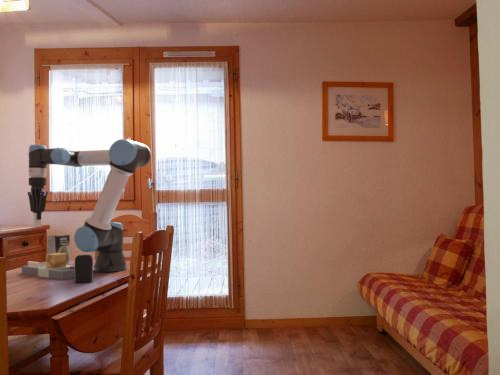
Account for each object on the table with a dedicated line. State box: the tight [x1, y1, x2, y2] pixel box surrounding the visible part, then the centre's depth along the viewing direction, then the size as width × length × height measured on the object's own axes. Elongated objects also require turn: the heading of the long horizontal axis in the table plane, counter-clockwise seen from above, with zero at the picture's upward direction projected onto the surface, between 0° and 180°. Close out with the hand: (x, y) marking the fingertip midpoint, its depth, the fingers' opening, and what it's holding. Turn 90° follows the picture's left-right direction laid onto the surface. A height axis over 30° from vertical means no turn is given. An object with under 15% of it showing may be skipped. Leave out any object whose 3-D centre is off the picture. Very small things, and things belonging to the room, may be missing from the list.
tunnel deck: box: [21, 260, 75, 281], centre depth 184 cm, size 31×12×6 cm, turn 59°
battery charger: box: [74, 253, 94, 284], centre depth 166 cm, size 7×4×11 cm, turn 109°
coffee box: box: [46, 234, 71, 265], centre depth 206 cm, size 9×6×16 cm
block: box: [45, 253, 66, 269], centre depth 183 cm, size 6×6×6 cm
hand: (37, 226), depth 192 cm, fingers closed
